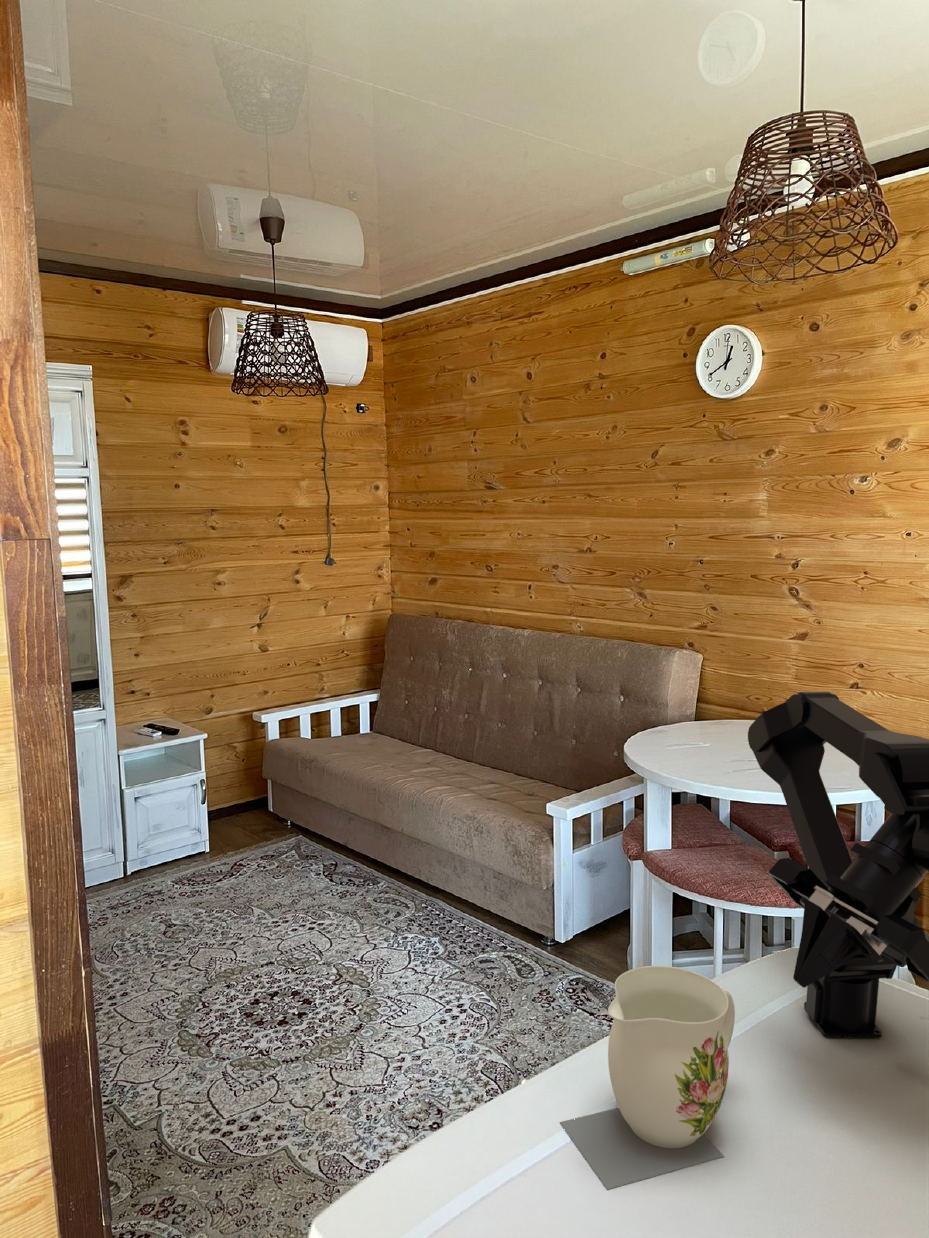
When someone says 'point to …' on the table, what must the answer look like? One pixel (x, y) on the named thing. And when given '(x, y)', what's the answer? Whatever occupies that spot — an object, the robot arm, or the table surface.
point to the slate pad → (630, 1150)
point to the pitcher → (669, 1052)
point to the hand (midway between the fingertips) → (798, 983)
